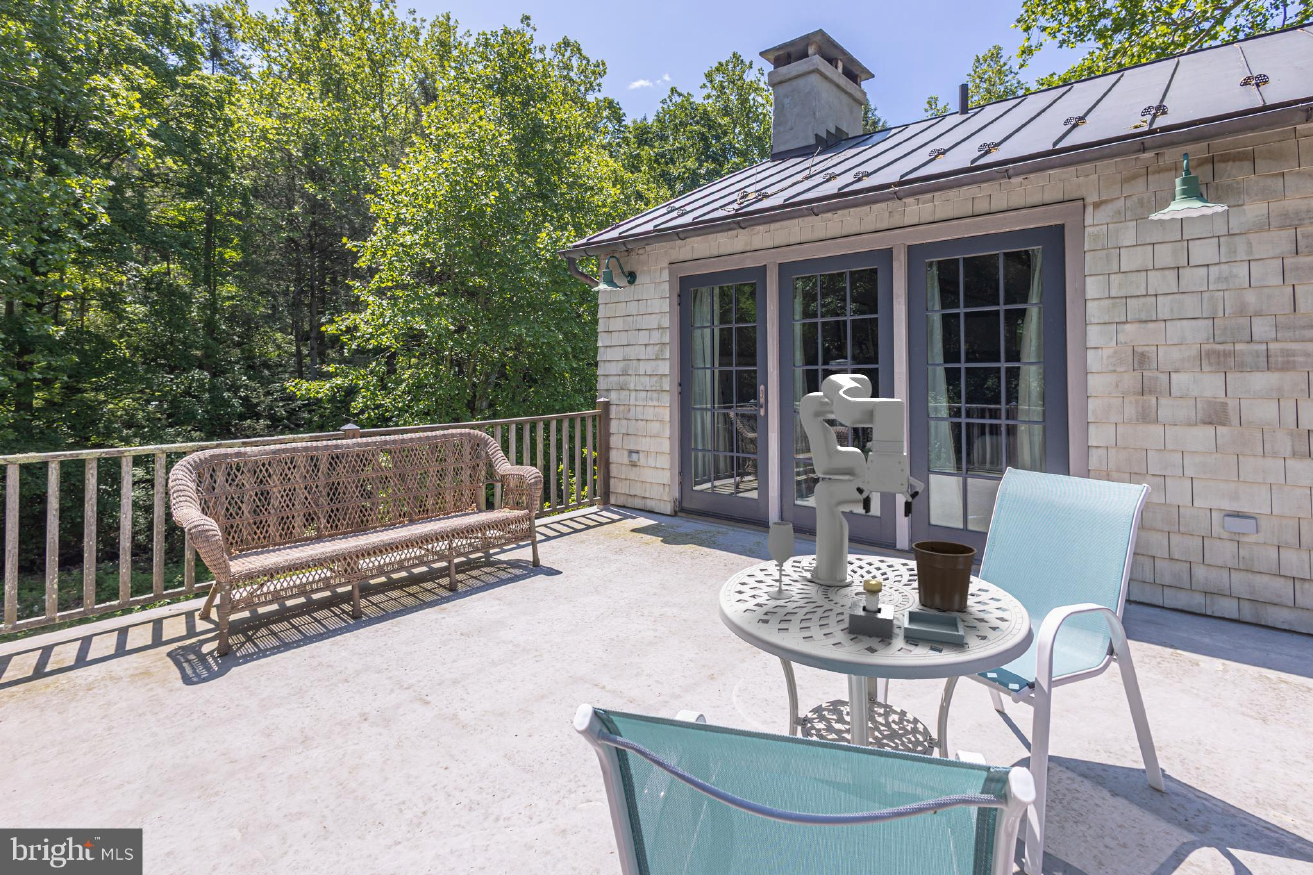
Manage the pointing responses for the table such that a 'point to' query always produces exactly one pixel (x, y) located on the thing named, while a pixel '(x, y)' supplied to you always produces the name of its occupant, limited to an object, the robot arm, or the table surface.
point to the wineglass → (781, 551)
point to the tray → (933, 628)
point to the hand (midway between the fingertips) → (886, 514)
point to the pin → (872, 594)
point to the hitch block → (871, 620)
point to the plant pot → (943, 573)
